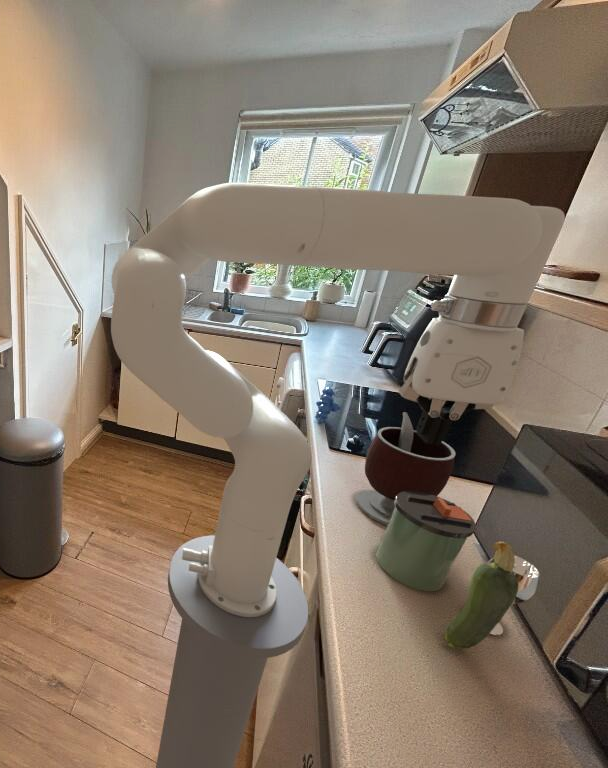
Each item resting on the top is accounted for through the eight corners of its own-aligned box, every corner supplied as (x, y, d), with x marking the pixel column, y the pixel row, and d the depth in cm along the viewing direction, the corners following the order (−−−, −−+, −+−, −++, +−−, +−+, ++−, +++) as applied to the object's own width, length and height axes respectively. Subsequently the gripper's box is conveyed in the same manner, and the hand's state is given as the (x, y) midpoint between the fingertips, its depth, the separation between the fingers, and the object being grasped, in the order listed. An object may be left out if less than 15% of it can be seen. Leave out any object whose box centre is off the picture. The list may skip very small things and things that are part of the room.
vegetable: (476, 651, 59) (540, 546, 52) (474, 672, 56) (541, 565, 49) (439, 630, 62) (493, 528, 54) (435, 649, 59) (492, 545, 52)
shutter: (443, 517, 67) (447, 510, 66) (432, 504, 70) (436, 496, 69) (472, 522, 66) (475, 515, 65) (459, 508, 69) (463, 501, 68)
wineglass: (497, 645, 60) (533, 586, 56) (452, 612, 65) (483, 556, 61) (516, 631, 63) (553, 573, 58) (472, 600, 67) (503, 545, 63)
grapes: (334, 433, 120) (345, 396, 115) (309, 427, 123) (319, 391, 118) (336, 418, 129) (346, 384, 125) (312, 413, 132) (322, 379, 128)
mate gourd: (439, 540, 80) (480, 454, 73) (360, 522, 84) (390, 439, 77) (411, 494, 94) (443, 417, 86) (344, 480, 98) (368, 406, 90)
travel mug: (386, 584, 70) (413, 523, 65) (364, 540, 79) (386, 483, 74) (459, 600, 67) (493, 537, 62) (427, 552, 77) (454, 494, 72)
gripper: (426, 313, 49) (379, 444, 56) (576, 326, 46) (506, 462, 53) (399, 302, 56) (361, 420, 63) (529, 312, 53) (473, 435, 60)
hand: (427, 439), depth 58 cm, fingers closed
